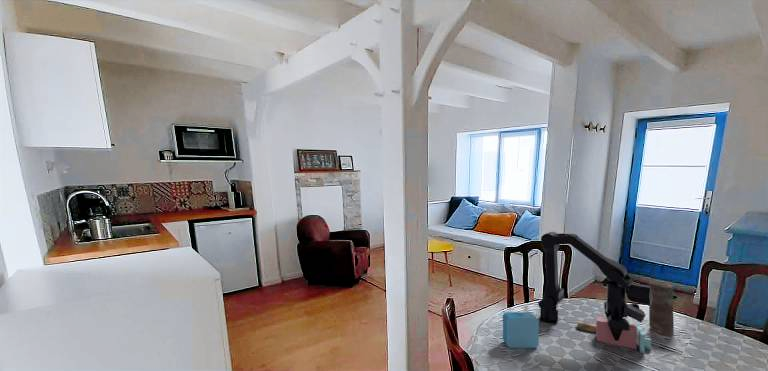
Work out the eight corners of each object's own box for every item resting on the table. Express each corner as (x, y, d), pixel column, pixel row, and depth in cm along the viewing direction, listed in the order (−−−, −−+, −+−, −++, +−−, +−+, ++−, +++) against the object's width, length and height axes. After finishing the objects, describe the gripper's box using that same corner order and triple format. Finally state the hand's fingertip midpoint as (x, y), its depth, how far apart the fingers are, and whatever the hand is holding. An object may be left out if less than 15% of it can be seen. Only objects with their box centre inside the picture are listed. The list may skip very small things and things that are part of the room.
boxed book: (596, 340, 117) (597, 320, 116) (596, 335, 120) (596, 316, 120) (636, 349, 110) (636, 328, 110) (634, 344, 114) (634, 324, 113)
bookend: (640, 352, 108) (640, 334, 108) (635, 341, 115) (636, 323, 115) (653, 355, 106) (653, 336, 106) (648, 344, 113) (648, 326, 113)
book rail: (577, 328, 126) (577, 322, 125) (577, 326, 127) (577, 320, 127) (632, 340, 116) (632, 334, 116) (631, 338, 118) (631, 332, 117)
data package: (533, 341, 117) (533, 311, 117) (538, 348, 113) (538, 317, 112) (502, 341, 118) (502, 312, 117) (507, 348, 113) (506, 317, 113)
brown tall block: (644, 328, 124) (645, 281, 123) (654, 324, 127) (655, 278, 126) (667, 337, 117) (668, 288, 116) (677, 333, 120) (678, 284, 119)
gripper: (648, 311, 102) (648, 355, 103) (638, 292, 118) (637, 330, 119) (608, 304, 108) (608, 346, 109) (603, 287, 124) (603, 323, 125)
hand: (615, 336), depth 115 cm, fingers open, 6 cm apart
